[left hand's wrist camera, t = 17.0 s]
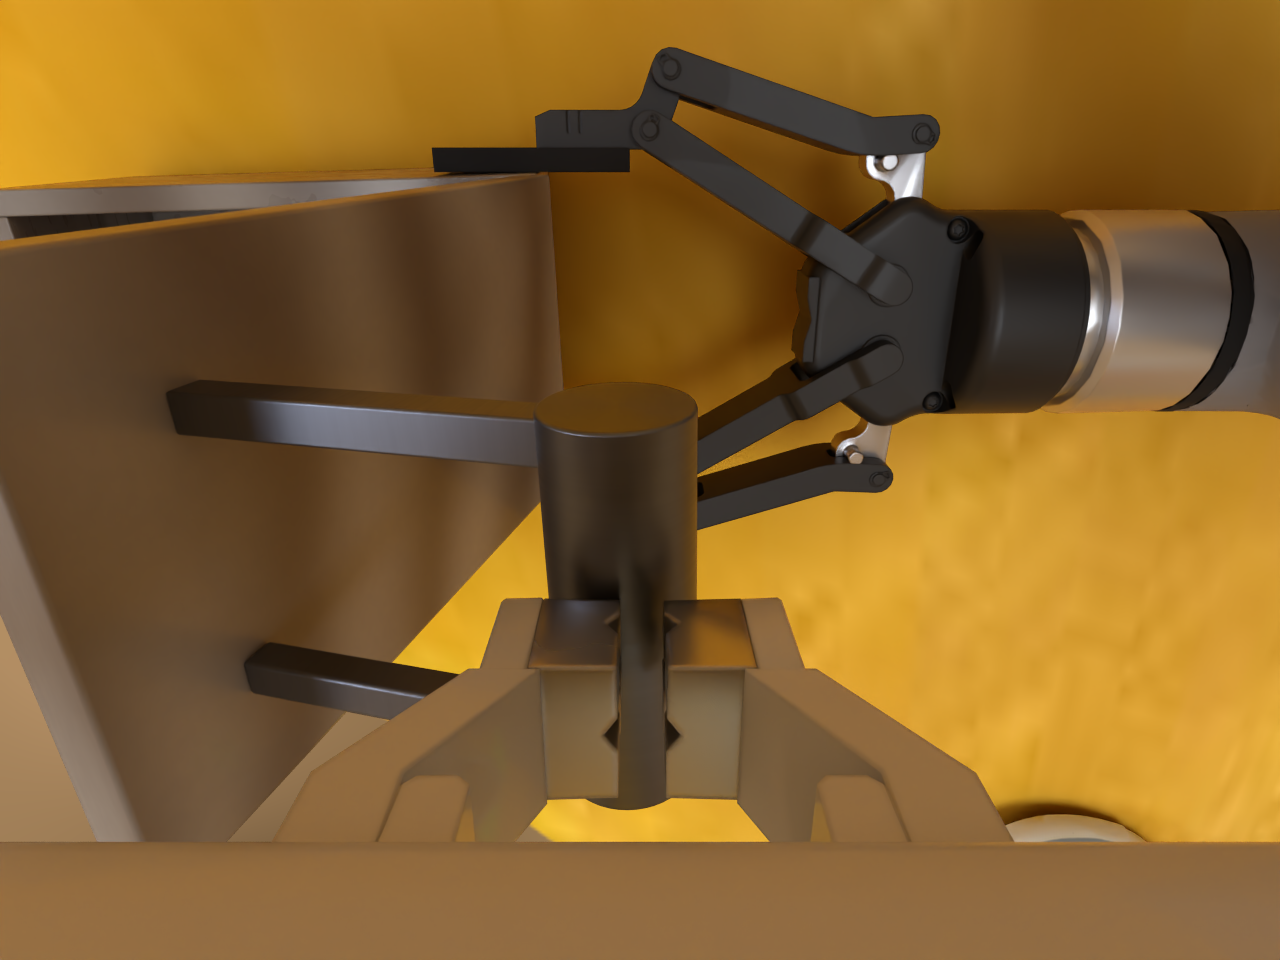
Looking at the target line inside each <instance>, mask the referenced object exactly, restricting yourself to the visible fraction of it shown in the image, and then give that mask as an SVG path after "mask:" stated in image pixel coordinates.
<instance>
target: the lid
mask: <svg viewBox="0 0 1280 960" xmlns="http://www.w3.org/2000/svg"><path fill="white" fill-rule="evenodd" d="M697 430H698V407H697V404H696V402H695V400H694V399H693V398H692V397H691V396H689V395H688V394H686V393H684V392H682V391H679V390H677V389H673V388H670V387H666V386H661V385H656V384H648V383H637V382H609V383H598V384H590V385H583V386H578V387H573V388H570V389H566V390H564V389H563V374H562V360H561V345H560V330H559V315H558V300H557V286H556V271H555V256H554V241H553V227H552V212H551V197H550V182H549V176H548V175H517V176H509V177H501V178H494V179H486V180H478V181H470V182H462V183H454V184H446V185H438V186H430V187H423V188H415V189H407V190H399V191H391V192H383V193H375V194H367V195H359V196H352V197H344V198H336V199H328V200H320V201H312V202H304V203H296V204H288V205H280V206H273V207H265V208H257V209H249V210H241V211H233V212H225V213H217V214H209V215H202V216H194V217H186V218H178V219H170V220H162V221H154V222H146V223H138V224H131V225H123V226H115V227H107V228H99V229H91V230H83V231H75V232H67V233H60V234H52V235H44V236H36V237H28V238H20V239H12V240H4V241H0V615H1V617H2V619H3V622H4V624H5V626H6V629H7V631H8V634H9V636H10V638H11V641H12V643H13V645H14V648H15V650H16V652H17V655H18V657H19V659H20V662H21V664H22V667H23V669H24V671H25V673H26V676H27V678H28V680H29V683H30V685H31V688H32V690H33V692H34V695H35V697H36V699H37V702H38V704H39V706H40V709H41V711H42V714H43V716H44V718H45V721H46V723H47V725H48V728H49V730H50V732H51V735H52V737H53V739H54V742H55V744H56V746H57V749H58V751H59V754H60V756H61V758H62V760H63V763H64V765H65V768H66V770H67V772H68V775H69V777H70V779H71V782H72V784H73V786H74V789H75V791H76V793H77V796H78V798H79V801H80V803H81V805H82V808H83V810H84V812H85V815H86V817H87V819H88V822H89V824H90V826H91V829H92V831H93V833H94V836H95V838H96V841H97V842H227V841H228V840H229V839H230V838H231V837H232V835H233V834H234V833H235V832H236V831H237V830H238V829H239V828H240V827H241V826H242V825H243V823H244V822H245V821H246V820H247V819H248V818H249V817H250V816H251V815H252V814H253V813H254V812H255V811H256V809H257V808H258V807H259V806H260V805H261V804H262V803H263V802H264V801H265V800H266V799H267V798H268V796H269V795H270V794H271V793H272V792H273V791H274V790H275V789H276V788H277V787H278V786H279V785H280V783H281V782H282V781H283V780H284V779H285V778H286V777H287V776H288V775H289V774H290V773H291V771H292V770H293V769H294V768H295V767H296V766H297V765H298V764H299V763H300V762H301V761H302V760H303V758H304V757H305V756H306V755H307V754H308V753H309V752H310V751H311V750H312V749H313V748H314V747H315V745H316V744H317V743H318V742H319V741H320V740H321V739H322V738H323V737H324V736H325V735H326V734H327V732H328V731H329V730H330V729H331V728H332V727H333V726H334V725H335V724H336V723H337V722H338V721H339V719H340V718H341V717H342V716H343V715H344V714H345V713H346V712H351V713H357V714H362V715H367V716H372V717H377V718H382V719H387V720H391V719H392V718H394V717H395V716H397V715H399V714H400V713H402V712H403V711H405V710H406V709H408V708H409V707H411V706H412V705H414V704H415V703H417V702H418V701H420V700H421V699H423V698H425V697H426V696H428V695H429V694H431V693H432V692H434V691H435V690H437V689H438V688H440V687H441V686H443V685H444V684H446V683H447V682H449V681H450V680H452V679H454V678H455V677H457V676H458V675H460V674H454V673H448V672H443V671H437V670H431V669H425V668H419V667H414V666H408V665H402V664H396V663H392V662H393V661H394V660H395V659H396V658H397V657H398V655H399V654H400V653H401V652H402V651H403V650H404V649H405V648H406V647H407V646H408V645H409V644H410V642H411V641H412V640H413V639H414V638H415V637H416V636H417V635H418V634H419V633H420V632H421V631H422V629H423V628H424V627H425V626H426V625H427V624H428V623H429V622H430V621H431V620H432V619H433V618H434V616H435V615H436V614H437V613H438V612H439V611H440V610H441V609H442V608H443V607H444V606H445V605H446V603H447V602H448V601H449V600H450V599H451V598H452V597H453V596H454V595H455V594H456V593H457V592H458V590H459V589H460V588H461V587H462V586H463V585H464V584H465V583H466V582H467V581H468V580H469V579H470V577H471V576H472V575H473V574H474V573H475V572H476V571H477V570H478V569H479V568H480V567H481V566H482V564H483V563H484V562H485V561H486V560H487V559H488V558H489V557H490V556H491V555H492V554H493V553H494V551H495V550H496V549H497V548H498V547H499V546H500V545H501V544H502V543H503V542H504V541H505V540H506V538H507V537H508V536H509V535H510V534H511V533H512V532H513V531H514V530H515V529H516V528H517V526H518V525H519V524H520V523H521V522H522V521H523V520H524V519H525V518H526V517H527V516H528V515H529V513H530V512H531V511H532V510H533V509H534V508H535V507H536V506H537V505H538V504H539V503H540V502H541V512H542V523H543V535H544V547H545V559H546V570H547V582H548V594H549V599H596V600H620V603H621V654H620V659H621V692H622V695H621V733H620V766H619V790H618V798H590V799H587V800H589V801H590V802H592V803H595V804H597V805H600V806H603V807H606V808H611V809H617V810H637V809H643V808H648V807H651V806H655V805H657V804H660V803H662V802H664V801H666V800H668V799H670V798H666V783H665V765H664V733H663V714H662V660H663V658H664V655H663V601H665V600H697Z"/></svg>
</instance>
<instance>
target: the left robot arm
mask: <svg viewBox="0 0 1280 960" xmlns="http://www.w3.org/2000/svg"><path fill="white" fill-rule="evenodd" d="M620 654H621V603H620V600H596V599H544V600H543V599H542V598H509V599H505V600H503V601H502V602H501V605H500V608H499V611H498V614H497V617H496V620H495V623H494V626H493V629H492V632H491V635H490V638H489V642H488V645H487V648H486V651H485V654H484V657H483V660H482V663H481V666H480V669H467V670H466V671H464V672H463V673H461V674H460V675H458V676H457V677H455V678H454V679H452V680H450V681H449V682H447V683H446V684H444V685H443V686H441V687H440V688H438V689H437V690H435V691H434V692H432V693H431V694H429V695H428V696H426V697H425V698H423V699H421V700H420V701H418V702H417V703H415V704H414V705H412V706H411V707H409V708H408V709H406V710H405V711H403V712H402V713H400V714H399V715H397V716H395V717H394V718H392V719H391V720H389V721H388V722H386V723H385V724H383V725H382V726H380V727H379V728H377V729H376V730H374V731H373V732H371V733H370V734H368V735H366V736H365V737H363V738H362V739H360V740H359V741H357V742H356V743H354V744H353V745H351V746H350V747H348V748H347V749H345V750H344V751H342V752H340V753H339V754H337V755H336V756H334V757H333V758H331V759H330V760H328V761H327V762H325V763H324V764H322V765H321V766H319V767H318V768H316V769H314V770H313V771H311V773H310V774H309V776H308V778H307V780H306V782H305V783H304V785H303V787H302V789H301V791H300V792H299V794H298V796H297V798H296V800H295V801H294V803H293V805H292V807H291V808H290V810H289V812H288V814H287V816H286V817H285V819H284V821H283V823H282V825H281V826H280V828H279V830H278V832H277V834H276V835H275V837H274V839H273V841H272V842H0V960H1280V842H1014V840H1013V838H1012V836H1011V835H1010V833H1009V831H1008V829H1007V827H1006V826H1005V824H1004V822H1003V820H1002V818H1001V817H1000V815H999V813H998V811H997V810H996V808H995V806H994V804H993V802H992V801H991V799H990V797H989V795H988V793H987V792H986V790H985V788H984V786H983V785H982V783H981V781H980V779H979V777H978V776H977V774H976V773H975V772H974V771H972V770H971V769H969V768H968V767H966V766H965V765H963V764H961V763H960V762H958V761H957V760H955V759H954V758H952V757H951V756H949V755H948V754H946V753H945V752H943V751H942V750H940V749H938V748H937V747H935V746H934V745H932V744H931V743H929V742H928V741H926V740H925V739H923V738H922V737H920V736H919V735H917V734H915V733H914V732H912V731H911V730H909V729H908V728H906V727H905V726H903V725H902V724H900V723H899V722H897V721H896V720H894V719H892V718H891V717H889V716H888V715H886V714H885V713H883V712H882V711H880V710H879V709H877V708H876V707H874V706H873V705H871V704H869V703H868V702H866V701H865V700H863V699H862V698H860V697H859V696H857V695H856V694H854V693H853V692H851V691H850V690H848V689H847V688H845V687H843V686H842V685H840V684H839V683H837V682H836V681H834V680H833V679H831V678H830V677H828V676H827V675H825V674H824V673H822V672H820V671H819V670H817V669H805V667H804V664H803V661H802V658H801V655H800V653H799V650H798V647H797V644H796V641H795V638H794V635H793V632H792V629H791V626H790V623H789V620H788V617H787V615H786V612H785V609H784V606H783V603H782V600H780V599H779V598H756V599H706V600H665V601H663V655H664V658H663V660H662V714H663V733H664V765H665V783H666V798H693V799H729V800H737V803H738V804H739V806H740V807H741V808H742V809H743V810H744V812H745V813H746V814H747V815H748V816H749V817H750V819H751V820H752V821H753V822H754V823H755V825H756V826H757V827H758V828H759V829H760V831H761V832H762V833H763V834H764V835H765V836H766V838H767V839H768V840H769V841H770V842H515V841H516V840H517V839H518V838H519V836H520V835H521V834H522V833H523V832H524V830H525V829H526V828H527V827H528V826H529V825H530V823H531V822H532V821H533V820H534V819H535V817H536V816H537V815H538V814H539V813H540V811H541V810H542V809H543V808H544V807H545V806H546V804H547V800H555V799H590V798H618V790H619V766H620V733H621V695H622V692H621V659H620Z"/></svg>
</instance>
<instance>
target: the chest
mask: <svg viewBox="0 0 1280 960" xmlns="http://www.w3.org/2000/svg"><path fill="white" fill-rule="evenodd" d="M517 175H548V172H434V168H410V169H375V170H341V171H307V172H273V173H238V174H204V175H170V176H135V177H123V178H111V179H100V180H89V181H77V182H66V183H54V184H43V185H32V186H20V187H9V188H0V241H4V240H12V239H20V238H28V237H36V236H44V235H52V234H60V233H67V232H75V231H83V230H91V229H99V228H107V227H115V226H123V225H131V224H138V223H146V222H154V221H162V220H170V219H178V218H186V217H194V216H202V215H209V214H217V213H225V212H233V211H241V210H249V209H257V208H265V207H273V206H280V205H288V204H296V203H304V202H312V201H320V200H328V199H336V198H344V197H352V196H359V195H367V194H375V193H383V192H391V191H399V190H407V189H415V188H423V187H430V186H438V185H446V184H454V183H462V182H470V181H478V180H486V179H494V178H501V177H509V176H517Z"/></svg>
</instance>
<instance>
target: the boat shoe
mask: <svg viewBox="0 0 1280 960" xmlns="http://www.w3.org/2000/svg"><path fill="white" fill-rule="evenodd" d="M1005 826H1006V827H1007V829H1008V831H1009V833H1010V835H1011V836H1012V838H1013V840H1014V842H1146V841H1145V840H1144V839H1142V838H1141V837H1139V836H1138V835H1136V834H1135V833H1133V832H1131V831H1130V830H1128V829H1125V827H1124V826H1123V825H1120V824H1117V823H1114V822H1110V821H1106V820H1103V819H1099V818H1093V817H1088V816H1082V815H1069V814H1055V815H1042V816H1035V817H1031V818H1026V819H1022V820H1019V821H1016V822H1013V823H1010V824H1008V825H1005Z"/></svg>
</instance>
